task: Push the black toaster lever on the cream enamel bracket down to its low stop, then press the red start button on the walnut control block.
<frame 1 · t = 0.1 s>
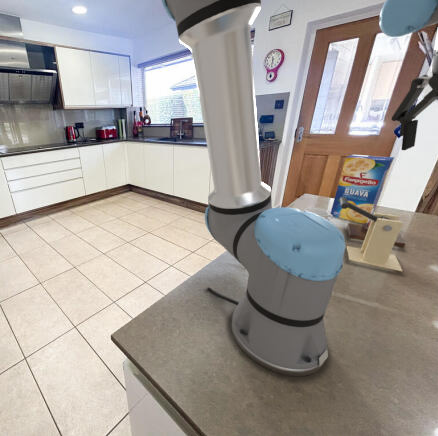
toaster lever: (365, 213, 59), point 13 cm above the countertop, hinge at 25.0°
teacup: (313, 223, 84), on the countertop
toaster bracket: (370, 261, 62), on the countertop
start button: (376, 225, 71), point 4 cm above the countertop, slide at 0.1 cm
beverage box: (350, 217, 87), on the countertop
control block: (371, 238, 73), on the countertop
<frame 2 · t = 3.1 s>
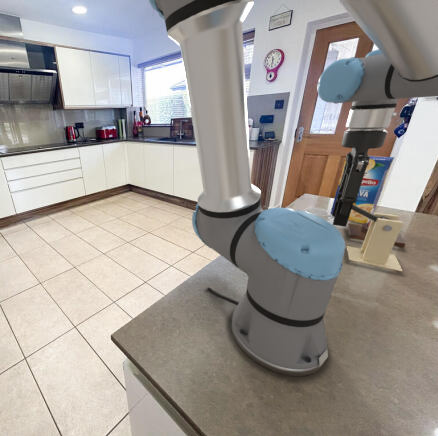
hand: (338, 220, 63), 10 cm above the countertop, tool pointing down, fingers closed on toaster lever, 6 cm apart
toaster lever: (365, 213, 59), point 13 cm above the countertop, hinge at 25.0°, touching gripper
everything else where it was.
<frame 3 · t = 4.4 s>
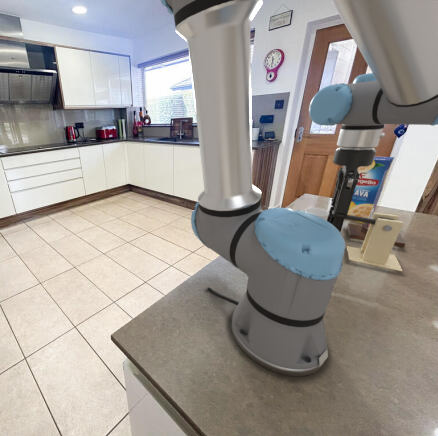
hand: (331, 233, 65), 6 cm above the countertop, tool pointing down, fingers closed on toaster lever, 6 cm apart
toaster lever: (361, 219, 60), point 11 cm above the countertop, hinge at 2.8°, touching gripper
everything else where it was.
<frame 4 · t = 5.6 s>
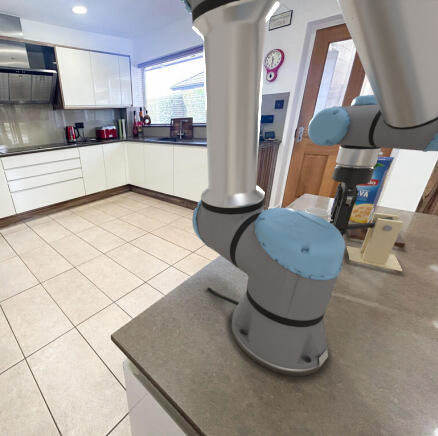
hand: (330, 246, 66), 2 cm above the countertop, tool pointing down, fingers open, 6 cm apart
toaster lever: (360, 226, 61), point 9 cm above the countertop, hinge at -19.8°
everything else where it was.
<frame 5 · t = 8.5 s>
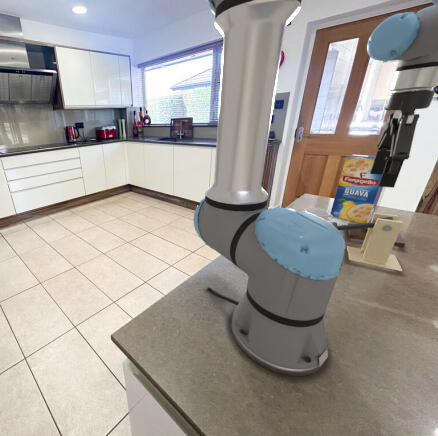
hand: (380, 180, 63), 20 cm above the countertop, tool pointing down, fingers open, 13 cm apart
nothing on the countertop moved.
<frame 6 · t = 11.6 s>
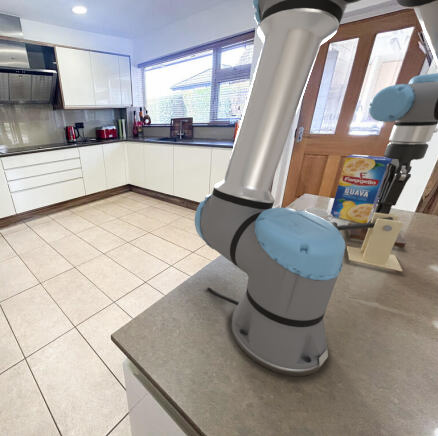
hand: (377, 223, 71), 5 cm above the countertop, tool pointing down, fingers closed
start button: (376, 227, 71), point 4 cm above the countertop, slide at -0.4 cm, touching gripper
everything else where it was.
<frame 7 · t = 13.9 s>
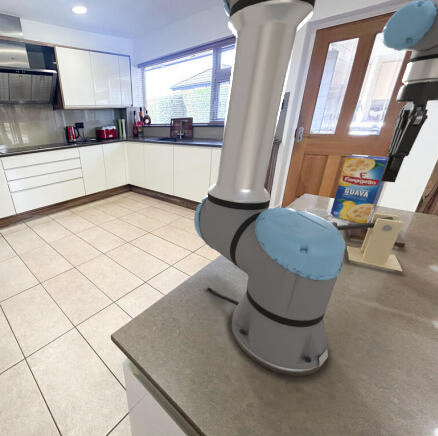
hand: (387, 181, 64), 19 cm above the countertop, tool pointing down, fingers closed
start button: (376, 225, 71), point 4 cm above the countertop, slide at 0.1 cm
everything else where it was.
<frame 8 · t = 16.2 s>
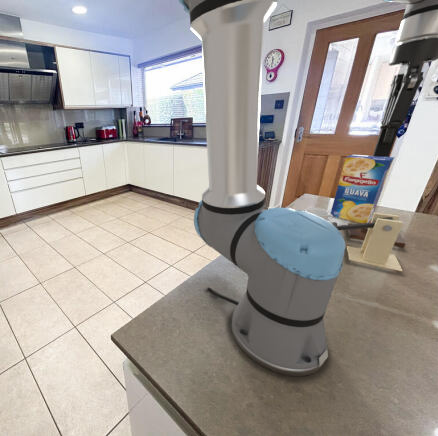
hand: (380, 156, 58), 26 cm above the countertop, tool pointing down, fingers closed
nothing on the countertop moved.
at the end: toaster lever at -20° (first picture: +25°); start button pushed in 1.0 cm at the most during the clip, back to where it started at the end; start button slide at 0.1 cm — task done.
